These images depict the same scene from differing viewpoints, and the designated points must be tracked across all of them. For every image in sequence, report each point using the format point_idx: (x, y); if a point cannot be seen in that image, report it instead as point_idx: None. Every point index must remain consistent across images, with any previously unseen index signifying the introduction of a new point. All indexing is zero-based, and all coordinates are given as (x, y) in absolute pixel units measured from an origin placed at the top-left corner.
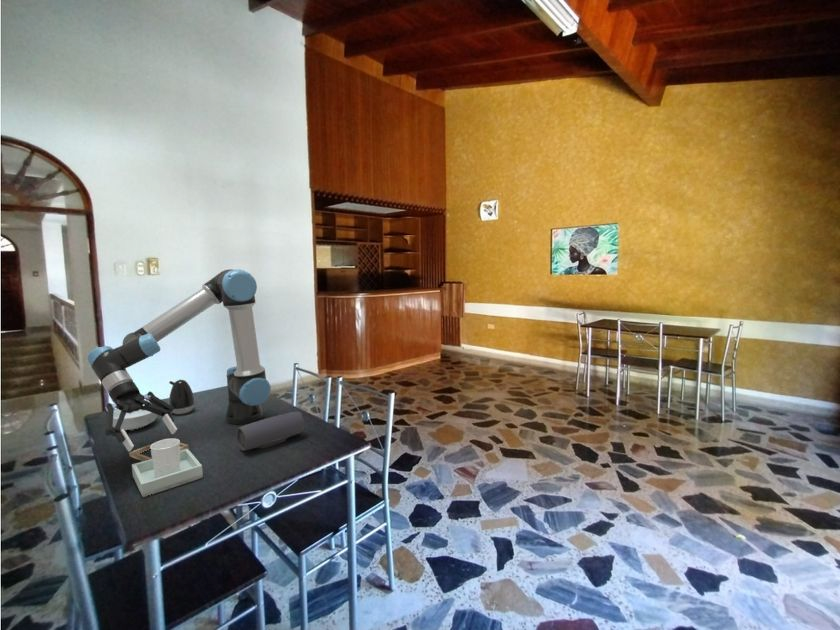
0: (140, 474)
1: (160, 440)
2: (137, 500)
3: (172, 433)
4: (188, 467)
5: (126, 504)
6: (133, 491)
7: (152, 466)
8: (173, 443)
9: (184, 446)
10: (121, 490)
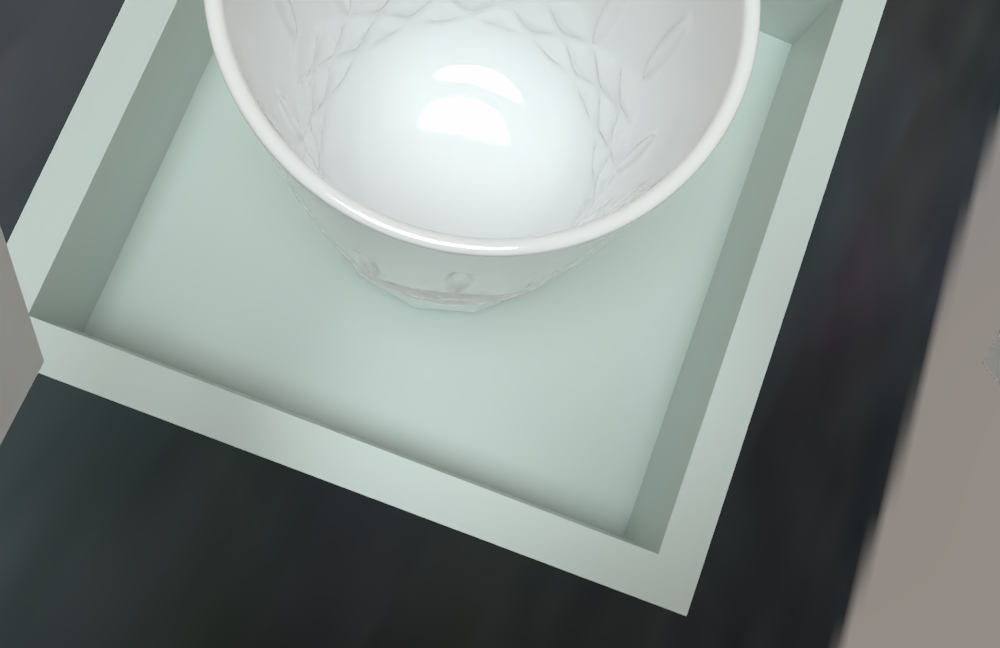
0: (780, 209)
1: (428, 236)
2: None
3: (34, 333)
4: None
5: (951, 69)
6: None
7: (464, 477)
8: (261, 99)
9: None
10: (853, 376)
